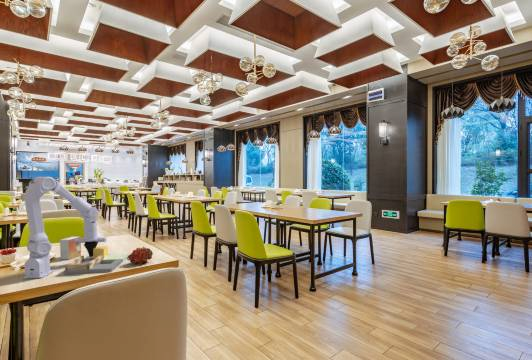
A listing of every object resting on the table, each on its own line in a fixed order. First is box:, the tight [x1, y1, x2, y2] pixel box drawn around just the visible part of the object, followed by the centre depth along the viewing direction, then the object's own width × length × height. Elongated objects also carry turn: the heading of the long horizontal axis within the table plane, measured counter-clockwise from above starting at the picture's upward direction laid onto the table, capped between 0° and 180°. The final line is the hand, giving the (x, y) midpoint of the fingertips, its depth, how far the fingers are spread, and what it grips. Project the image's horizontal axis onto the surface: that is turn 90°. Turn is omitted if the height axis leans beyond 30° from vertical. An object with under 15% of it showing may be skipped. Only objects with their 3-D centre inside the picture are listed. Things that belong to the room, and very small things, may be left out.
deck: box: [63, 253, 130, 275], centre depth 145 cm, size 24×20×2 cm
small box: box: [59, 236, 82, 260], centre depth 158 cm, size 8×6×10 cm
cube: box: [93, 246, 109, 259], centre depth 152 cm, size 5×5×5 cm
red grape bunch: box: [126, 246, 154, 265], centre depth 147 cm, size 8×8×12 cm
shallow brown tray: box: [64, 255, 103, 271], centre depth 140 cm, size 15×10×2 cm, turn 7°
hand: (91, 256), depth 151 cm, fingers closed
